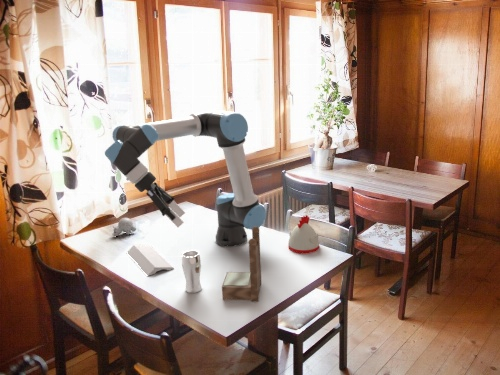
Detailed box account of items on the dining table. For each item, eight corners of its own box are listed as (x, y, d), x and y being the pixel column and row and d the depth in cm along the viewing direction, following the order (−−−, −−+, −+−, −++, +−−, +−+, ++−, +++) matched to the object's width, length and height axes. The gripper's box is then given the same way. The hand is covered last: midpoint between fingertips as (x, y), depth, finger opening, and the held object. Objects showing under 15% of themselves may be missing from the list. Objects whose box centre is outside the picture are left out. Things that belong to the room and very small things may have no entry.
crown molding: (174, 270, 200) (173, 262, 199) (146, 278, 194) (145, 270, 193) (151, 247, 224) (150, 240, 223) (125, 254, 218) (124, 247, 217)
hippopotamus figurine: (113, 239, 242) (105, 226, 238) (133, 226, 247) (125, 213, 243) (118, 243, 236) (110, 230, 232) (138, 229, 241) (130, 216, 237)
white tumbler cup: (180, 289, 182) (177, 254, 178) (195, 283, 186) (192, 248, 182) (192, 295, 177) (188, 259, 173) (206, 289, 182) (203, 253, 177)
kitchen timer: (324, 246, 216) (324, 215, 212) (307, 256, 206) (307, 224, 202) (300, 239, 225) (299, 209, 221) (282, 248, 215) (281, 217, 211)
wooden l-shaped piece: (222, 301, 172) (218, 240, 165) (228, 282, 186) (224, 225, 180) (258, 301, 171) (255, 240, 164) (261, 282, 185) (259, 225, 178)
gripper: (138, 178, 182) (176, 217, 187) (128, 191, 158) (172, 236, 162) (152, 165, 182) (190, 205, 186) (144, 177, 157) (188, 222, 162)
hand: (181, 219), depth 174 cm, fingers open, 13 cm apart
